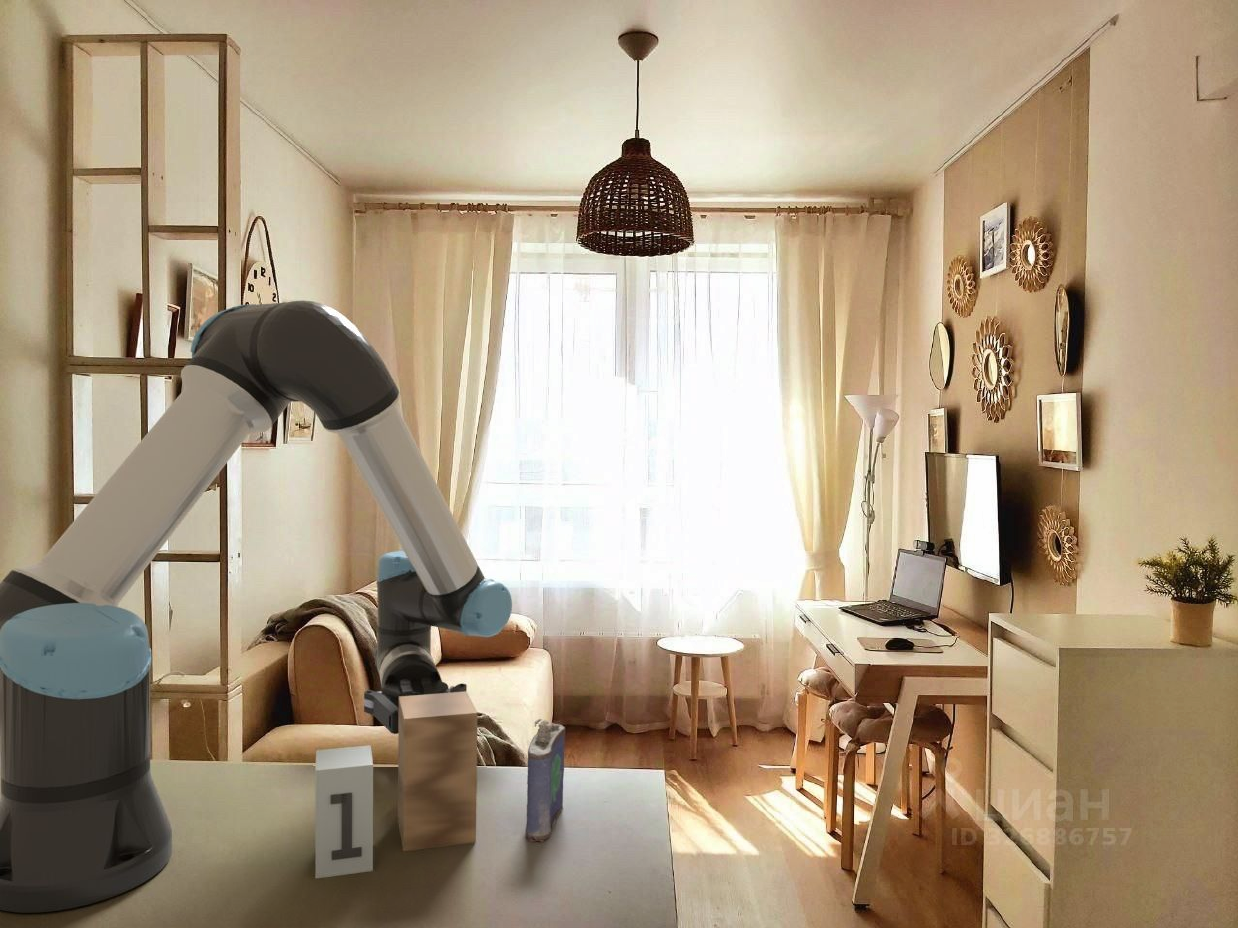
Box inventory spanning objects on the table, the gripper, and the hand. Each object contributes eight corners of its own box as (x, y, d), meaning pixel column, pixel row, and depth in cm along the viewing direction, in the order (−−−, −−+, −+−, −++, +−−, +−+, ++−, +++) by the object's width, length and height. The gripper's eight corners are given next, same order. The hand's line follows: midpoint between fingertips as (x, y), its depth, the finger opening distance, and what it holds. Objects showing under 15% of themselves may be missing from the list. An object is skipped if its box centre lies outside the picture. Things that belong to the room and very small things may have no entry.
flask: (547, 843, 89) (548, 737, 88) (518, 840, 89) (519, 735, 89) (566, 803, 98) (567, 707, 97) (540, 801, 98) (541, 705, 98)
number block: (315, 879, 81) (315, 771, 81) (316, 852, 86) (316, 750, 86) (372, 871, 83) (373, 765, 82) (370, 845, 88) (370, 745, 87)
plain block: (403, 851, 87) (404, 718, 86) (397, 819, 93) (398, 696, 93) (475, 841, 89) (477, 712, 88) (465, 811, 96) (466, 691, 95)
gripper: (459, 704, 122) (490, 770, 100) (359, 712, 118) (368, 783, 96) (459, 649, 122) (491, 704, 99) (359, 656, 118) (369, 714, 95)
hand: (431, 742), depth 98 cm, fingers closed
